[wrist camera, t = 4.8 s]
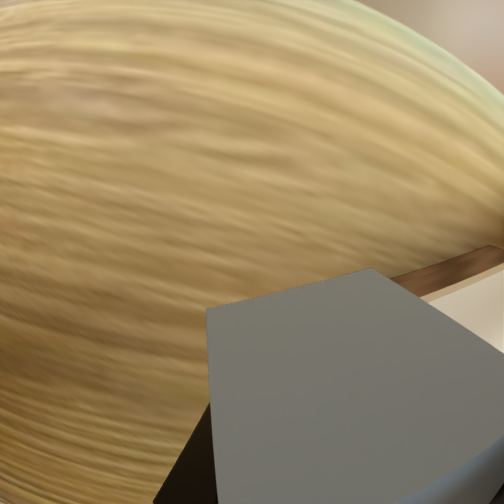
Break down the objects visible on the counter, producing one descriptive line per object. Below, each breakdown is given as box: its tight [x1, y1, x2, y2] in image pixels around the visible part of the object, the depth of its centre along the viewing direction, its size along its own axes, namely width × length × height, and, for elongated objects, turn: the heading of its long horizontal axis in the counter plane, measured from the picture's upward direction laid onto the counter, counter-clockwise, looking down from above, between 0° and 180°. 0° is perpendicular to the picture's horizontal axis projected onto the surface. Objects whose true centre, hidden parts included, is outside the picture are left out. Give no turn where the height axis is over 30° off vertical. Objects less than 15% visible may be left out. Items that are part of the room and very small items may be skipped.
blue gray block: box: [206, 268, 504, 504], centre depth 6 cm, size 4×4×6 cm
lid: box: [419, 263, 504, 353], centre depth 17 cm, size 14×16×3 cm
